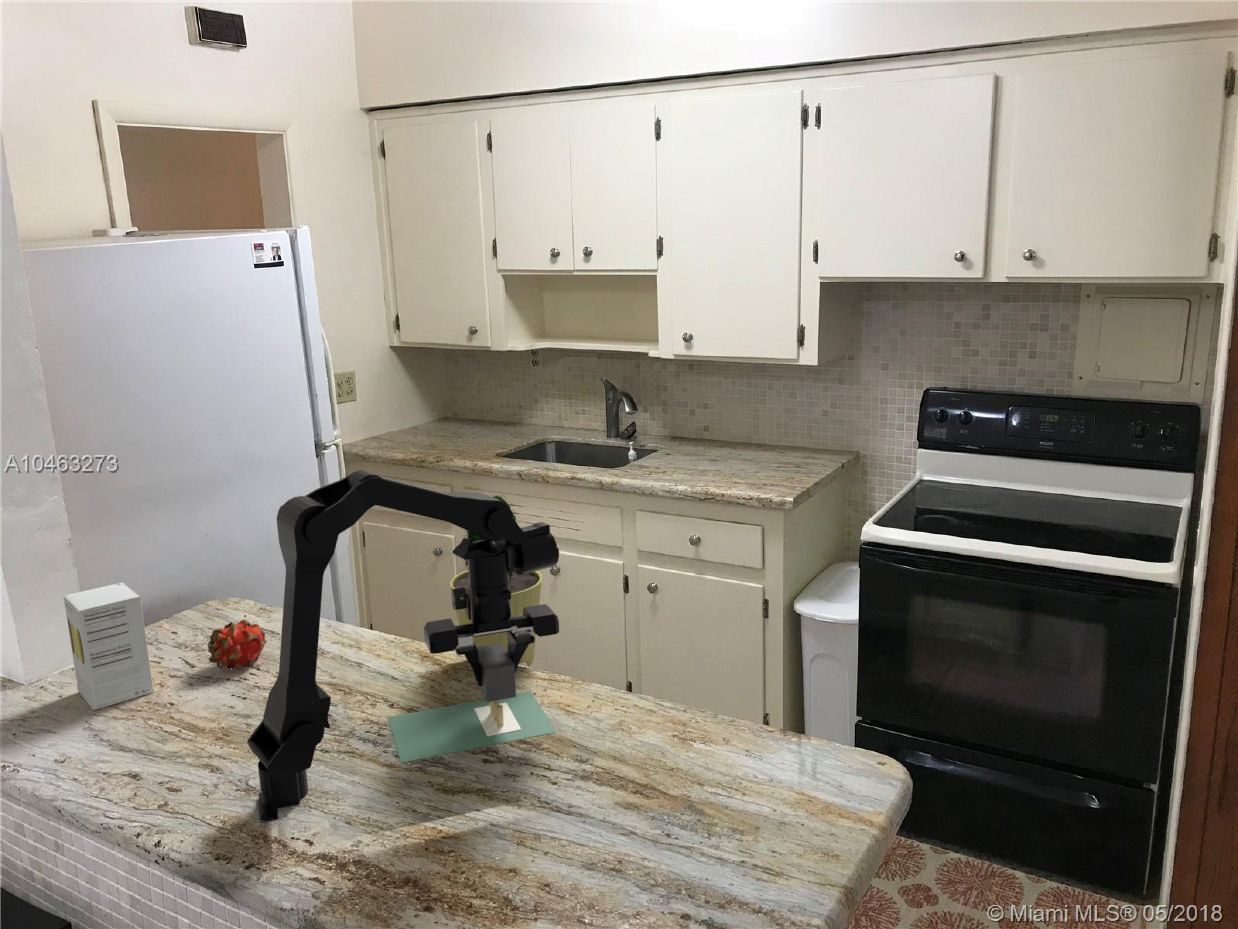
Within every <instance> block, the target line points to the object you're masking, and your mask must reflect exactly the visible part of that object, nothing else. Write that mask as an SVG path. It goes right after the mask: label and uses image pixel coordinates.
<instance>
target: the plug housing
mask: <svg viewBox="0 0 1238 929" xmlns="http://www.w3.org/2000/svg"><path fill="white" fill-rule="evenodd" d="M477 649H478V656H479V663H480V670H481V676H482V684H481V686H480V687H479V689H480V691H481V693H482V695H483V697H484V699H486V701H487V702H491V701H496V700H502V699H507V698H513V697H516V694H517V690H516V689H517V688H516V672H515V668H514V663H513V662H512V660H511V658H510V657H509V655H508V654H507V652H506V650H505V649H504V647H503V646H502V644H501V643H498V644H492V645H485V646H479V647H477ZM474 680H475V681H476V679H475V678H474ZM476 683H477V681H476Z"/></svg>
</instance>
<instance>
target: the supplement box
mask: <svg viewBox="0 0 1238 929" xmlns="http://www.w3.org/2000/svg"><path fill="white" fill-rule="evenodd" d="M63 602H64V608H65V615H66V621H67V627H68V633H69V640H70V647H71V652H72V653H71V654H72V660H73V666H74V673H75V678H76V679H75V680H76V685H77V691H78V693H79V694H80V695H81V697H82V698H83V699H84V701H85V702H86V703H87V704H88V705H89V707H90V708H91V709H92V710H93V711H98V710H100V709H103V708H106V707H109V706H112V705H117V704H119V703H123V702H127V701H130V700H133V699H136V698H140V697H142V695H143V696H147V695H149V694H153V693H154V685H153V678H152V672H151V663H150V657H149V649H148V644H147V636H146V628H145V620H144V612H143V604H142V598H141V596H140V595H139V594H138V593H137V592H135V591H134V590H132V588H130V587H129V586H128V585H126V583H125V582H119V583H114V584H110V585H109V584H108V585H105V586H101V587H96V588H91V589H88V590H83V591H77V592H74V593H70V594H66V595H64V596H63ZM139 696H140V697H139Z"/></svg>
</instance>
